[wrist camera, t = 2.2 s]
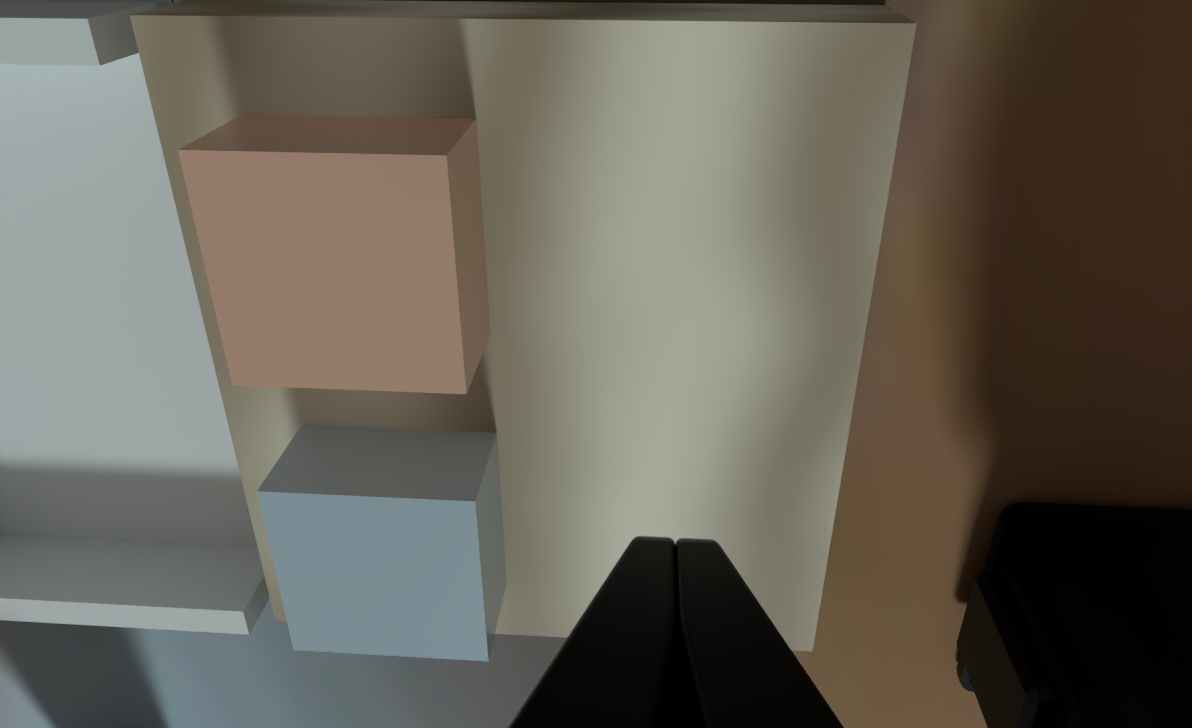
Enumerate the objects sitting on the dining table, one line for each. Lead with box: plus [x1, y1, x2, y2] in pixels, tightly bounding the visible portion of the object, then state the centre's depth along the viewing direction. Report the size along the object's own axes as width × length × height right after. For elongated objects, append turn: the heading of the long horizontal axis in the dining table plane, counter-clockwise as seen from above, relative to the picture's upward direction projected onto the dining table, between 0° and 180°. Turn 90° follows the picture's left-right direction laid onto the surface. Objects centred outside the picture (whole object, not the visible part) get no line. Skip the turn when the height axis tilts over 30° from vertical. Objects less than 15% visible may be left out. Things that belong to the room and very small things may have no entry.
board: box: [130, 0, 917, 651], centre depth 20 cm, size 14×15×2 cm
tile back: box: [257, 425, 507, 661], centre depth 20 cm, size 4×4×2 cm
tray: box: [0, 0, 270, 634], centre depth 21 cm, size 9×15×3 cm, turn 0°
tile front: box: [178, 114, 490, 394], centre depth 17 cm, size 4×4×2 cm
